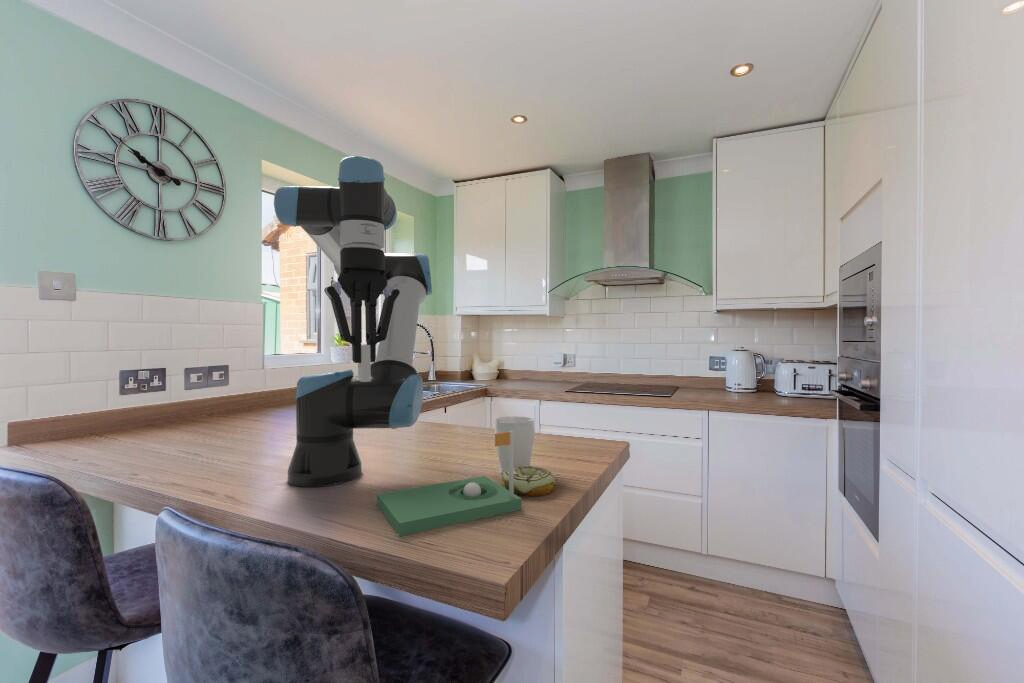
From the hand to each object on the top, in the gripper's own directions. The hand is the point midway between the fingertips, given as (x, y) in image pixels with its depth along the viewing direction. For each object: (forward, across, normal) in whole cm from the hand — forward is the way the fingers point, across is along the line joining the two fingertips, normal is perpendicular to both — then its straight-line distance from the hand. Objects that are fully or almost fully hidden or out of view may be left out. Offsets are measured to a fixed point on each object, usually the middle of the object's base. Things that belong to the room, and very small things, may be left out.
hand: (364, 380), depth 81 cm
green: (+23, +12, -9) cm, 28 cm away
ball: (+21, +18, -8) cm, 29 cm away
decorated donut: (+24, +30, -9) cm, 39 cm away
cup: (+24, +34, +2) cm, 42 cm away
